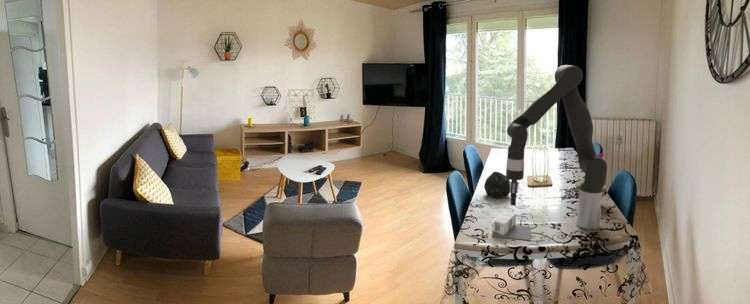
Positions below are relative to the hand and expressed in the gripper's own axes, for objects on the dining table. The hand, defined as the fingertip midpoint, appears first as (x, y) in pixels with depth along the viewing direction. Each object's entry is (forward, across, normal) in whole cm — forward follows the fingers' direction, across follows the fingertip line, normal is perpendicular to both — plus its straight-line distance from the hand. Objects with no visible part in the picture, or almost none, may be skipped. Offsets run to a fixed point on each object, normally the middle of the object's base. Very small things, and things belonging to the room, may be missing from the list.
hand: (513, 204), depth 212 cm
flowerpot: (+11, +44, -37) cm, 58 cm away
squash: (+11, +44, +9) cm, 47 cm away
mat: (+11, -5, 0) cm, 12 cm away
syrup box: (+8, +4, +1) cm, 9 cm away
